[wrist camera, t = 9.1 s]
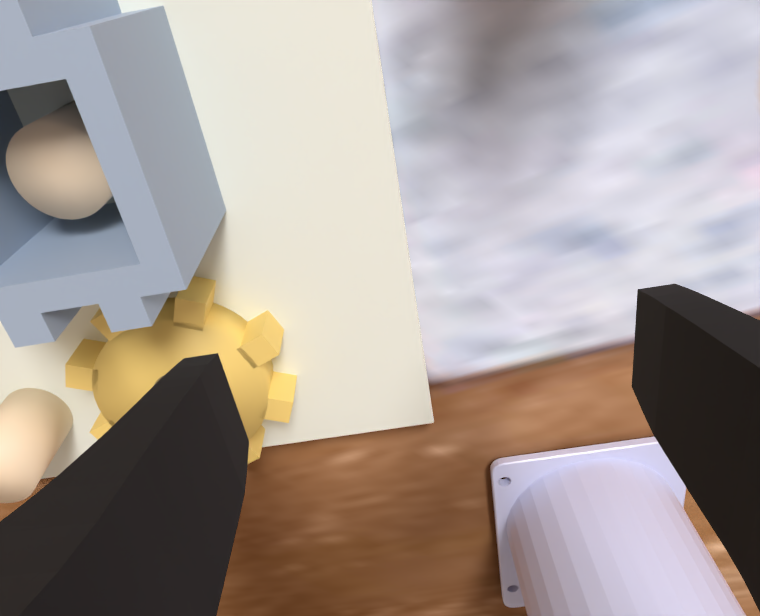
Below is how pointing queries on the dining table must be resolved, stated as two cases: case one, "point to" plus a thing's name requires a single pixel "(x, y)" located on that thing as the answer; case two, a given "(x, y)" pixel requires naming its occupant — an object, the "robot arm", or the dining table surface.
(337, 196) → the board
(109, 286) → the ridged hollow box frame
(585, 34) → the dining table surface
